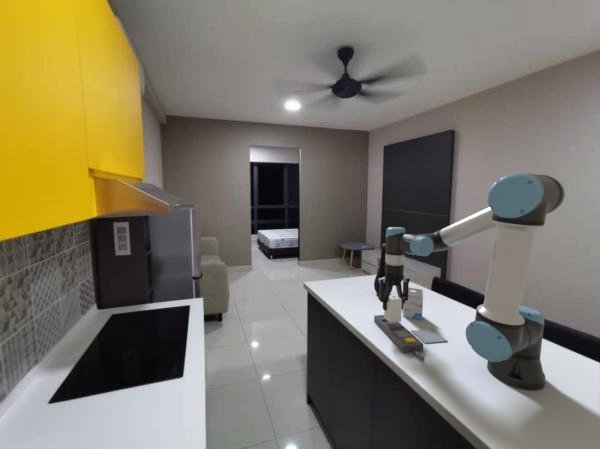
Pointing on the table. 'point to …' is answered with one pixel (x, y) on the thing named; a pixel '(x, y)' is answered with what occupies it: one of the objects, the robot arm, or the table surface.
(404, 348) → the power strip
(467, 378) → the table surface
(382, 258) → the bottle
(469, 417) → the table surface
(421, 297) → the ink box
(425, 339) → the mat
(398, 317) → the block
